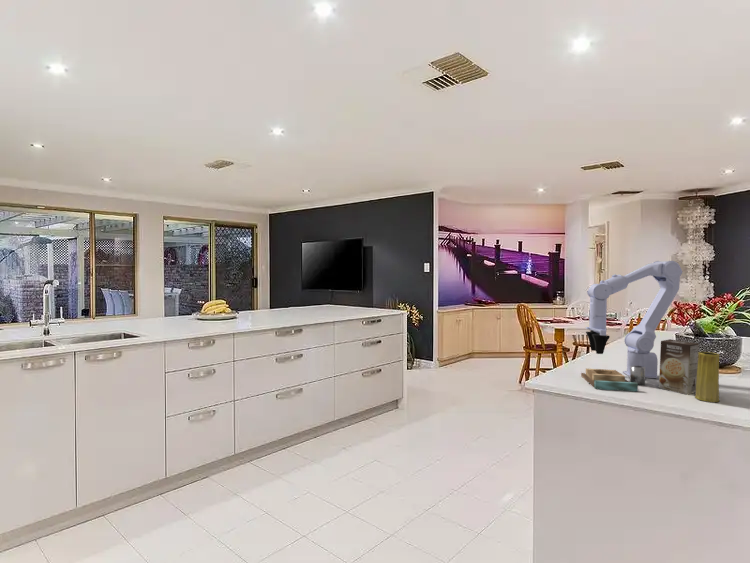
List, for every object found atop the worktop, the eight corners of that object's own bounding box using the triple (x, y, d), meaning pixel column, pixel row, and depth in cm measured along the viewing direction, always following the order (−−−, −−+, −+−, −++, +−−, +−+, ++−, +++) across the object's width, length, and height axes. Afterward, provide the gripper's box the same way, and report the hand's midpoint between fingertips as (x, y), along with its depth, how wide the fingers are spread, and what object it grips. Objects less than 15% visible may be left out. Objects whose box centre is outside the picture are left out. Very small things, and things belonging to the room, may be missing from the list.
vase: (723, 403, 137) (725, 355, 136) (700, 401, 138) (702, 354, 138) (713, 397, 143) (714, 351, 142) (691, 396, 144) (692, 350, 144)
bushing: (641, 382, 160) (642, 365, 160) (646, 386, 156) (647, 368, 156) (628, 382, 161) (628, 364, 161) (632, 385, 157) (633, 367, 157)
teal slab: (618, 378, 167) (618, 371, 167) (637, 391, 149) (637, 383, 149) (581, 376, 169) (581, 369, 169) (595, 388, 151) (595, 381, 151)
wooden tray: (615, 378, 166) (615, 369, 166) (624, 385, 157) (625, 376, 156) (585, 376, 168) (585, 368, 168) (593, 383, 158) (593, 374, 158)
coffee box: (657, 388, 153) (659, 340, 153) (667, 385, 157) (668, 339, 156) (688, 395, 145) (689, 344, 145) (697, 392, 149) (699, 343, 148)
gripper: (581, 313, 179) (580, 348, 180) (591, 317, 165) (590, 355, 166) (600, 314, 178) (599, 349, 179) (613, 318, 164) (611, 356, 164)
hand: (596, 352), depth 172 cm, fingers open, 6 cm apart
